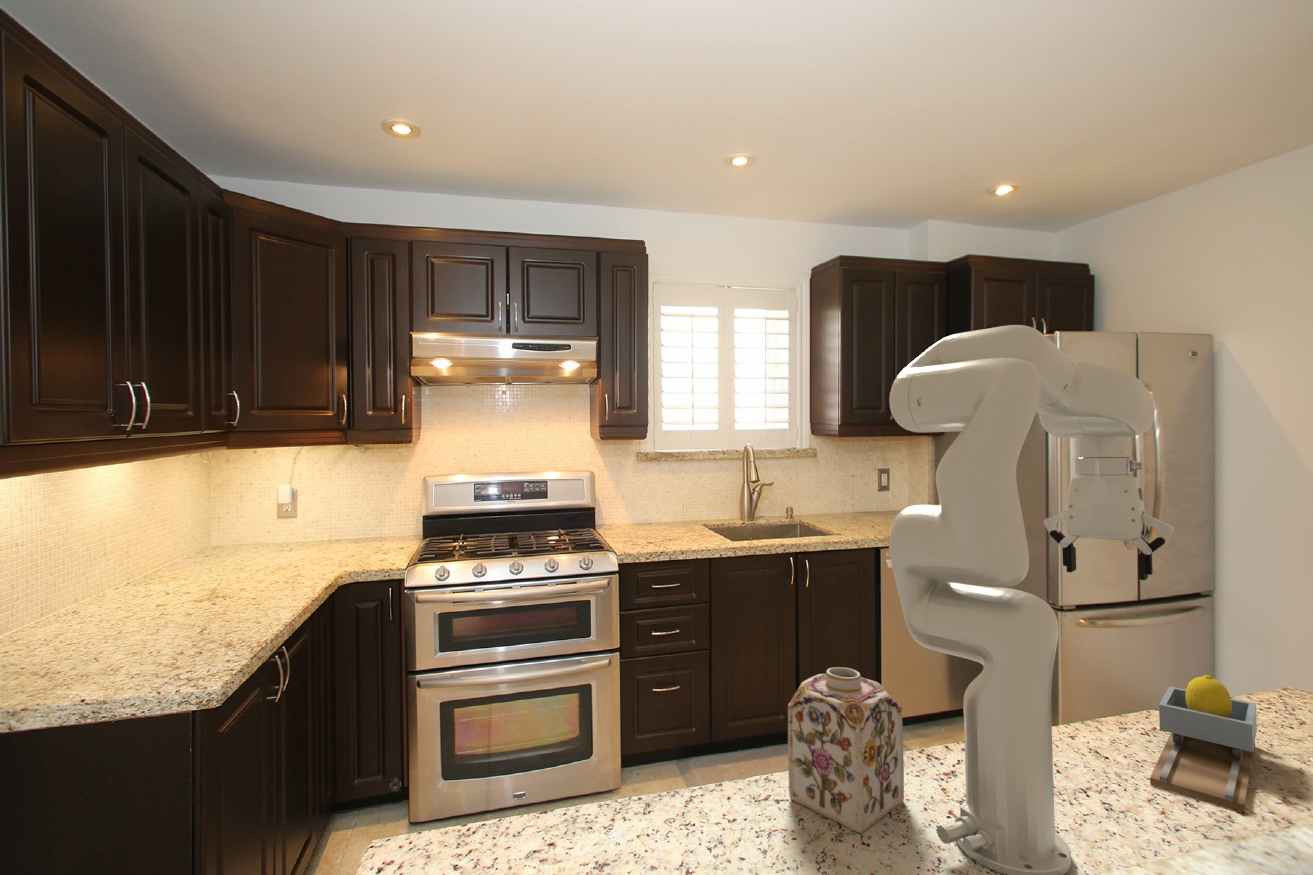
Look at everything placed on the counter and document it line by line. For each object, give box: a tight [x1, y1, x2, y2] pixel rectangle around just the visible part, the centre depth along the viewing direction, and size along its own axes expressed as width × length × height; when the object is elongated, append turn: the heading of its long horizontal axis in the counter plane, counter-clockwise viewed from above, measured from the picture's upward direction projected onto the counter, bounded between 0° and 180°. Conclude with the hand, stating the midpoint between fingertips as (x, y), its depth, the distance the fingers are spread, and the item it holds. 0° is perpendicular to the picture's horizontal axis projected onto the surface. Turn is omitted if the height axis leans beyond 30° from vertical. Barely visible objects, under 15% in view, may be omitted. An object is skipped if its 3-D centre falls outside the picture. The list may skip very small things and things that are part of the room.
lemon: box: [1185, 674, 1232, 718], centre depth 100 cm, size 6×6×8 cm
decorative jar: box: [787, 666, 905, 834], centre depth 89 cm, size 12×12×18 cm
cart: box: [1158, 685, 1258, 759], centre depth 100 cm, size 11×11×6 cm
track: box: [1149, 732, 1256, 813], centre depth 97 cm, size 26×10×4 cm, turn 134°
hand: (1106, 574), depth 102 cm, fingers open, 9 cm apart
